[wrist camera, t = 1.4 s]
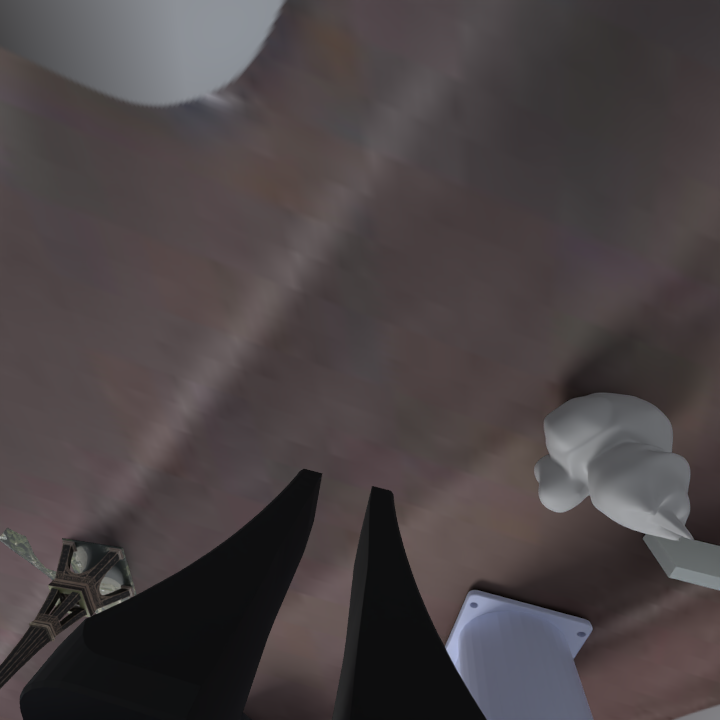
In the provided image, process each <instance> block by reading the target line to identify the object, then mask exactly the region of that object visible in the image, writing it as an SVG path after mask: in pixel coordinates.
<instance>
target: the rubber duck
mask: <svg viewBox="0 0 720 720" xmlns="http://www.w3.org/2000/svg"><path fill="white" fill-rule="evenodd" d="M544 432H545V436H546V446H547V449H548V452H549V454H548V455H546V456H544V457H542V458H541V459H540V460H539V461H538V462H537V463H536V465H535V468H534V473H535V477H536V479H537V481H538V482H539V498H540V500H541V502H542V503H543V505H544V506H545V507H547V508H548V509H550V510H552V511H554V512H566V511H568V510H570V509H572V508H574V507H575V506H577V505H578V504H579V503H581V502H582V501H583V500H584V499H585V498H586V497H587V496H589V495H590V497H591V501H592V503H593V505H594V506H595V507H596V508H597V509H598V510H599V511H601V512H602V513H604V514H605V515H606V516H608V517H609V518H610V519H612V520H613V521H615V522H617V523H619V524H621V525H622V526H625V527H627V528H630V529H632V530H635V531H638V532H641V533H645V534H649V535H653V536H658V537H662V538H666V539H670V540H675V541H677V540H678V541H680V539H681V538H682V536H683V537H685V538H688V539H690V540H693V541H695V540H694V539H693V537H692V535H691V534H690V532H689V531H688V530H687V528H686V527H685V523H686V520H687V518H688V516H689V513H690V501H689V497H688V494H687V493H688V487H689V483H690V467H689V464H688V462H687V461H686V459H685V458H683V457H682V456H680V455H678V454H675V453H672V443H673V431H672V426H671V423H670V421H669V419H668V418H667V417H666V416H665V415H664V414H663V412H662V411H660V410H659V409H658V408H657V407H656V406H654V405H653V404H651V403H650V402H647V401H645V400H642V399H640V398H638V397H635V396H631V395H623V394H615V393H593V394H590V395H587V396H583V397H576V398H573V399H570V400H568V401H567V402H565V403H564V404H562V405H561V406H559V407H558V408H557V409H555V410H554V411H552V412H551V413H549V414H548V415H547V416H546V417H545V419H544Z"/></svg>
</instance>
